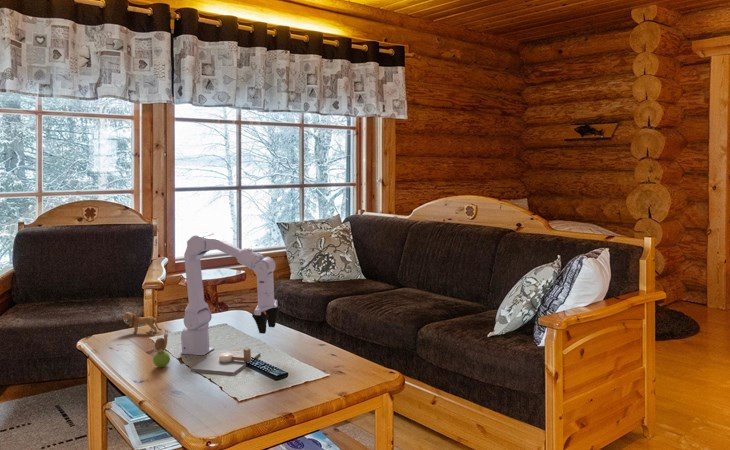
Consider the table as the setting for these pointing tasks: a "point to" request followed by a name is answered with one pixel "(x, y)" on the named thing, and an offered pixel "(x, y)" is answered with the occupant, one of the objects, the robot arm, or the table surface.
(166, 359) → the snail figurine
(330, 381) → the table surface
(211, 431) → the table surface
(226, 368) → the stud board
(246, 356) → the brown white rounded rod
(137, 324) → the lion figurine
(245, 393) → the table surface
